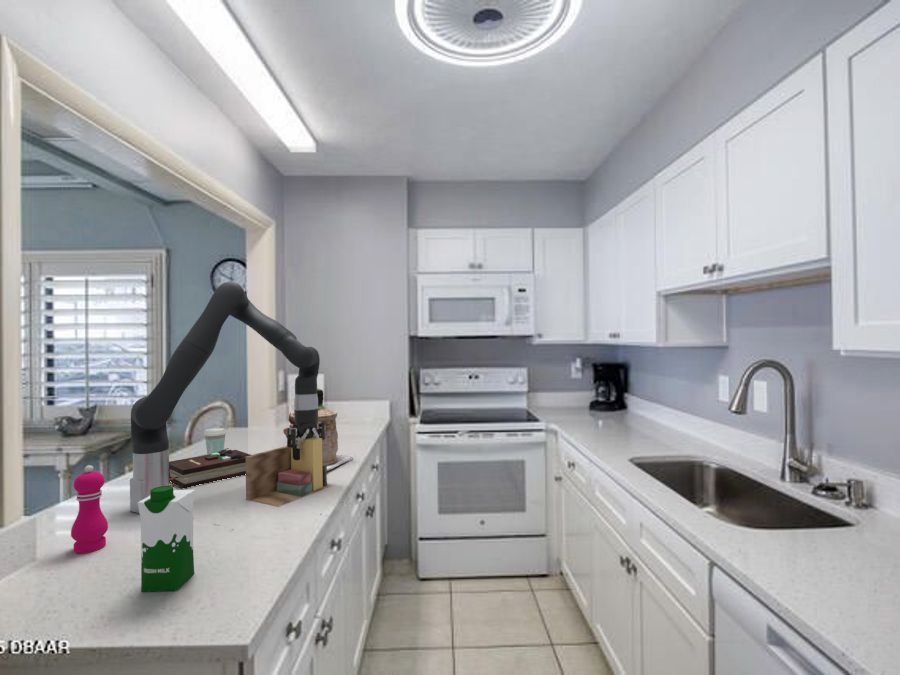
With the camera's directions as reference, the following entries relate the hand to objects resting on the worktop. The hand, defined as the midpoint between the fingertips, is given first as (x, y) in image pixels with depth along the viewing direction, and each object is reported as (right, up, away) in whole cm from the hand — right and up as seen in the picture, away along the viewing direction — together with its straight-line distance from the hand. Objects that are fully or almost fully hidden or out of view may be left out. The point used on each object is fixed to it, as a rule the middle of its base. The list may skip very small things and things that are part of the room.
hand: (306, 456), depth 157 cm
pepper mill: (-40, -12, -41) cm, 59 cm away
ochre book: (0, -10, 0) cm, 10 cm away
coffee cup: (-54, -13, +49) cm, 73 cm away
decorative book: (-41, -13, +20) cm, 47 cm away
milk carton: (-11, -12, -58) cm, 60 cm away
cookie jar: (-8, -12, +34) cm, 37 cm away
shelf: (-3, -11, -5) cm, 13 cm away
